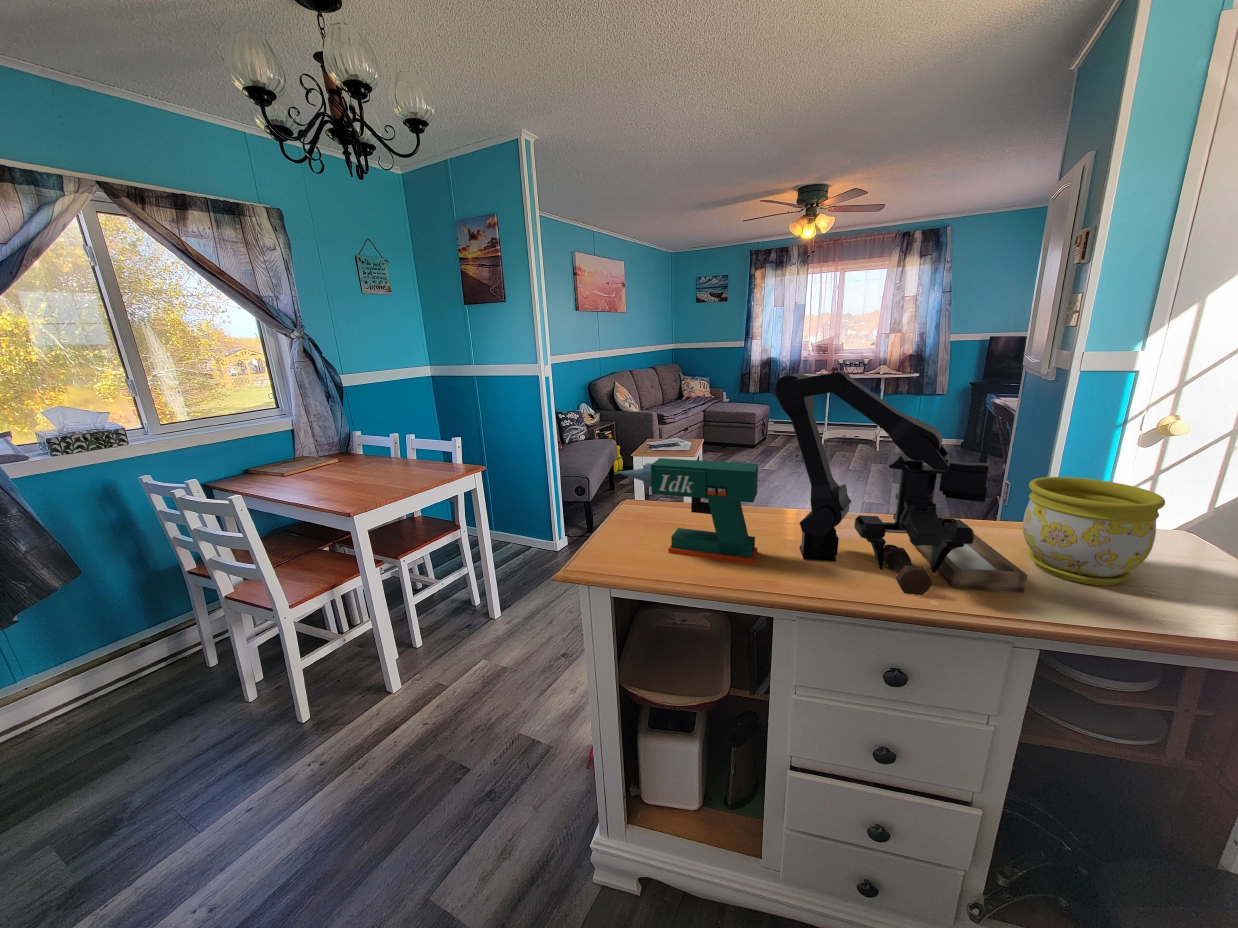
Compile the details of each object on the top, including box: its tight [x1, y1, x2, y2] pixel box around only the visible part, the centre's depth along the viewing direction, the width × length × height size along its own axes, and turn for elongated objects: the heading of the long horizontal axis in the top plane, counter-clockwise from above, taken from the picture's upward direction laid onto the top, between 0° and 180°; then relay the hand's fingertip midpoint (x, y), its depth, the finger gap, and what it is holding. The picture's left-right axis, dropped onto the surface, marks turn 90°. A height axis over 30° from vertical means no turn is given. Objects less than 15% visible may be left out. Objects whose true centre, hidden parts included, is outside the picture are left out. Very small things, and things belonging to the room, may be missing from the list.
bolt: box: [884, 543, 934, 596], centre depth 92 cm, size 6×5×15 cm
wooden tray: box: [912, 533, 1028, 594], centre depth 95 cm, size 11×20×4 cm, turn 168°
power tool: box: [615, 457, 759, 566], centre depth 105 cm, size 32×7×20 cm, turn 68°
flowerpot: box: [1022, 476, 1166, 586], centre depth 90 cm, size 18×18×16 cm
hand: (906, 570), depth 92 cm, fingers open, 9 cm apart
